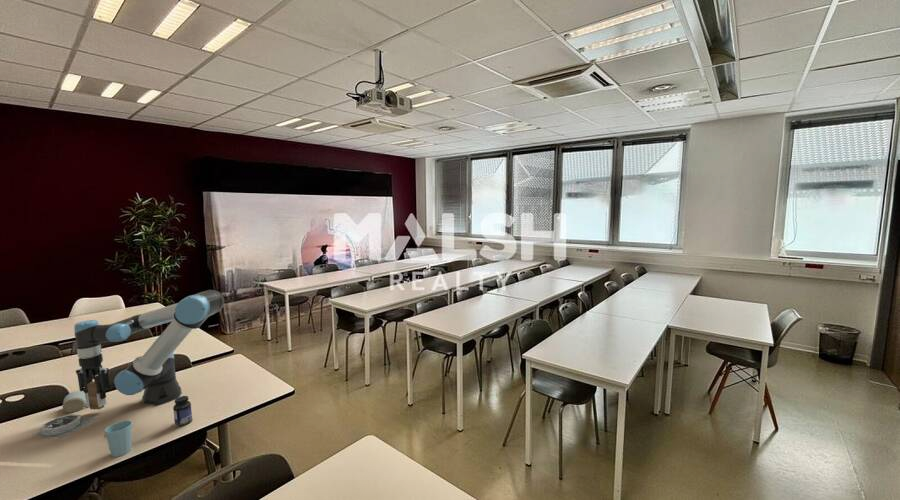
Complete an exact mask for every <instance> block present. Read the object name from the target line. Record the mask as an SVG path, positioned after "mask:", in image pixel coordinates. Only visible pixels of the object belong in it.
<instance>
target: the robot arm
mask: <svg viewBox="0 0 900 500" xmlns="http://www.w3.org/2000/svg"><path fill="white" fill-rule="evenodd" d="M224 305H225V298H224V296H223V295H222V293H220V292H219V291H217V290H214V289H207V290H204V291H200V292H198V293H195V294H191V295H188V296H186V297H184V298H183V299H181V300H180V301H179V302H177V303H172V304H169V305H167V306H164V307H160V308H157V309H154V310H149V311H146V312H143V313H140V314H136V315H133V316H130V317H127V318H125V319H121V320H118V321H116V322H114V323H109V324H100V323H99V321H98V320H97V319H87V320H82V321H79V322H76V323H75V324H74V337H75V343H76V350H77V351H76V353H77V357H78V365H79V367H80V368H78V369H76V370H75V374H76V375H77V382H78V387H79V389H78V390H79V391H82V392H84V393H85V396H86V399H87V402H86V404H87V405H88V408H90V404H89V397H88V390H87V384H88V383H90V382H92V381H95V384H96V387H97V390H98V392H97V400H98V407H101V406H103V405H104V406H105V405H107V401H106V398H107V394H106V391H108V390H110V388H111V387H110V379H109V377H110V376H109V372H110V371H109V370H110V369H109V367H106V368H105V367H103V365H102V362H104V360H103V359H104V358H103V354H102V352H103V351H102V345H101V344H102V343H107V342H108V343H110V342H111V343H117V342H124V341H126V340H128V338H129V337H130V336H131V335H132V334H135V333H137V332H141V331H144V330H147V329H151V328H153V327H156V326H157V327H158V326H160V325H163V324H167V323H169V325H167V327H165V329H164V330H163V331H162V332H161V334H159V336H158V338H156V340H155V341H154V342H152V344H151V345H150V347H149V348H147V350H146V351H145V352H144V354H143V355H141V356H137V357H136V358H135V359H134V360H133V361H132V362H131V363H130V364H129V366H127V368H125V369H123V370H121V371H120V372H118V373H117V374H116V375H115V377H114V380H113V384H114V385H115V386H114V387H115V389H116V390H117V391H118V392H119V393H121V394H123V395H125V396H134V395H137V394H138V393H141V392H143V395H142V396H141V400H142V401H141V402H142V404H143V405H154V406H156V405H162V404H165V403H167V402H171V401H174V400H175V399H176V398H178V397H181V396H182V393H183V392H182V387H181V386H180V383H179V382H178V380H177V376H176V364H175V358H176V357H175V354H174V352H175V351H176V350H177V349H178V347H179V346H180V345H181V343H182V342H184V341H185V339H186V338H187V337H188V336H189V334H190V333H191V332H192V331H193V330H197V329H199V328H200V327H201V326H202V325H203V324H204V322H206V320H207V319H208V318H209V317H211V316H213V315H215V314H217V313H219V312H220V311H221V310H222V309H223V307H224ZM143 390H144V391H143Z"/></svg>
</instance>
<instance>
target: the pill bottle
mask: <svg viewBox="0 0 900 500" xmlns="http://www.w3.org/2000/svg"><path fill="white" fill-rule="evenodd" d="M172 409H173V417H174V418H173V419H174V425H175V426H176V427H183V426H186V425H188V424H190V423H191V422H192V421H193V415H192V414H193V413H192V411H193V410H192V403H191V401H190V400H189V396H188V395H180V396H179V397H177V398H175V399H174V405H173V408H172Z"/></svg>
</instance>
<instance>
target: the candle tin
mask: <svg viewBox="0 0 900 500" xmlns="http://www.w3.org/2000/svg"><path fill="white" fill-rule="evenodd" d="M81 417H82V414H78V413H77V414H75V413H73V414H71V413H69V414H66V415H63V416H60V417H55V418H53V419H51V420H49V421H47V422H44V423H43V424H42V426H41V427H40V432H41V434H43V435H44V436H53V435H58V434H62V433H65V432H68V431H70V430H72V429H74V428H76V427H78V426H79V425H80V424H81Z"/></svg>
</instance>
